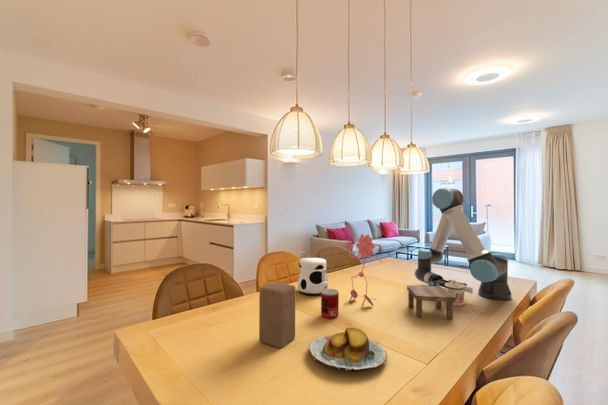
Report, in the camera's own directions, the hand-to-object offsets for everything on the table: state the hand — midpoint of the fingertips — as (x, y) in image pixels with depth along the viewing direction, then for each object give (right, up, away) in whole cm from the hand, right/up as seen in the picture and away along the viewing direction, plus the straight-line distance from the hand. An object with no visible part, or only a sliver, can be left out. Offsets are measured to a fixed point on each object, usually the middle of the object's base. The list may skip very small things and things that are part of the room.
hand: (459, 291), depth 143 cm
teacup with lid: (0, -7, +3) cm, 7 cm away
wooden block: (-88, -6, -37) cm, 96 cm away
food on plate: (-64, -7, -48) cm, 80 cm away
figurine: (-47, -7, +3) cm, 47 cm away
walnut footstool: (-20, -6, -10) cm, 23 cm away
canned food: (-67, -6, -14) cm, 68 cm away
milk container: (-73, -6, +19) cm, 76 cm away
